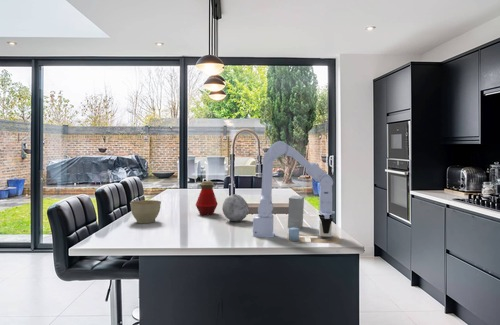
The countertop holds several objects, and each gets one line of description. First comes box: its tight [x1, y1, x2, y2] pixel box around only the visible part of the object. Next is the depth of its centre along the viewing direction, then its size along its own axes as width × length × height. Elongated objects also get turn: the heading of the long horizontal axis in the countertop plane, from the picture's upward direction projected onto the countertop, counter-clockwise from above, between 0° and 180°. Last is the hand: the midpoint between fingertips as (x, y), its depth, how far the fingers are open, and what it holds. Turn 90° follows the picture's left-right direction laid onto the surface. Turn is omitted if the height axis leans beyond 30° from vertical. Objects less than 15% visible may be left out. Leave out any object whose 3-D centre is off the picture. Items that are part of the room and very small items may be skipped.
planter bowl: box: [129, 199, 162, 224], centre depth 195 cm, size 16×16×11 cm
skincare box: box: [287, 195, 305, 230], centre depth 182 cm, size 8×7×16 cm
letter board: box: [286, 233, 342, 244], centre depth 158 cm, size 23×14×1 cm, turn 83°
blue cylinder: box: [288, 228, 300, 243], centre depth 155 cm, size 4×4×5 cm
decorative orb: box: [221, 193, 250, 222], centre depth 198 cm, size 15×14×15 cm
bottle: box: [195, 180, 218, 216], centre depth 219 cm, size 16×14×20 cm
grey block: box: [318, 220, 333, 236], centre depth 160 cm, size 5×5×6 cm
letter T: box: [299, 236, 318, 243], centre depth 158 cm, size 9×10×1 cm
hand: (325, 231), depth 161 cm, fingers closed on grey block, 5 cm apart
